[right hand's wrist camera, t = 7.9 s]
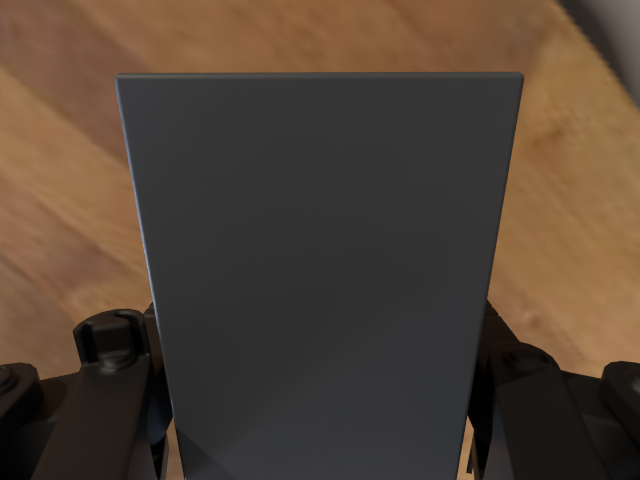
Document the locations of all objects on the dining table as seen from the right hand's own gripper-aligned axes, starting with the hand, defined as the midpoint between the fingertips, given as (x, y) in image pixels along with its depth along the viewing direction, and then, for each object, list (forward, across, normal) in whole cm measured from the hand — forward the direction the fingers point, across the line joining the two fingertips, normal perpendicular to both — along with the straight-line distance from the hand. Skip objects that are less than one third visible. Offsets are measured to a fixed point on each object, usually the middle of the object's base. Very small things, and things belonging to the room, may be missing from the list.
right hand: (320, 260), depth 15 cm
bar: (+1, 0, -20) cm, 20 cm away
